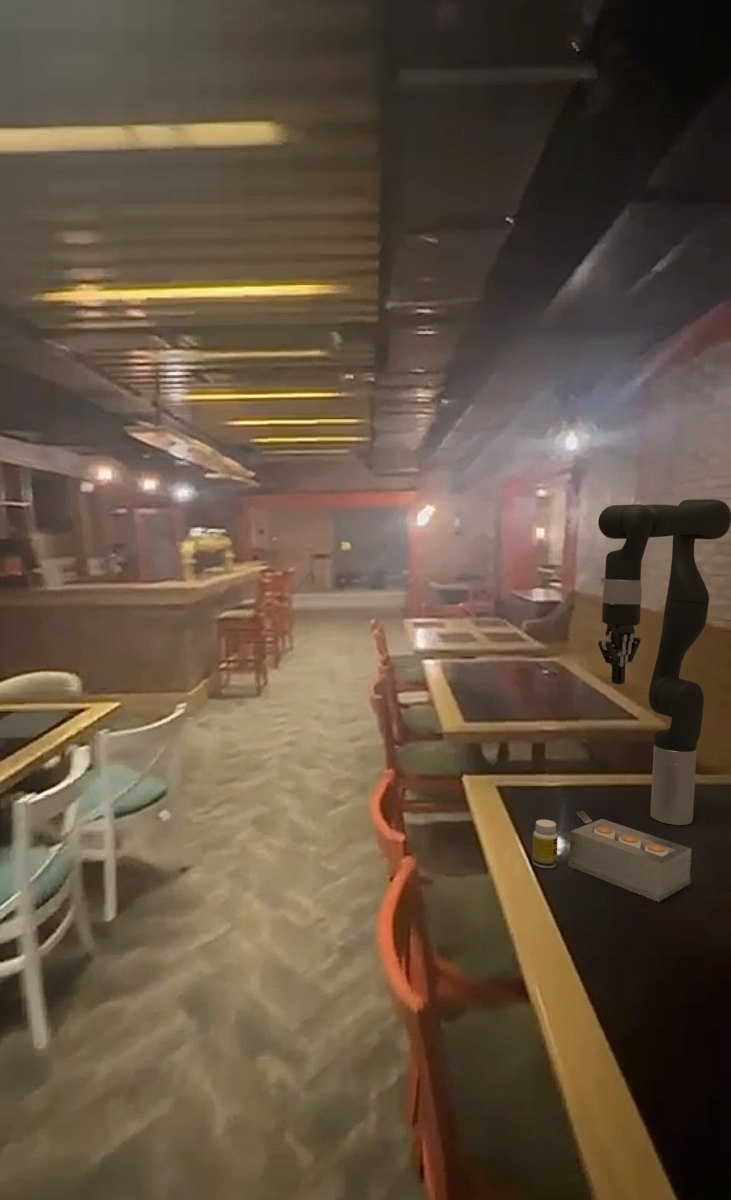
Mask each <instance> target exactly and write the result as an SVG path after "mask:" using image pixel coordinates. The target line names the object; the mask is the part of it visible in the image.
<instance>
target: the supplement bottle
mask: <svg viewBox="0 0 731 1200" xmlns="http://www.w3.org/2000/svg"><path fill="white" fill-rule="evenodd" d="M558 835H559V834H557V823H556V822H555V821H553V820H549V819H538V820H536V822H535V830H534V831H533V835H532V836H533V837H532V859H531V860H532V864H533V865H534V866H535V867H537V868H541V869H553V868H555V867H556V866H557V863H558V862H557V860H558Z"/></svg>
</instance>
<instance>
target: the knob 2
mask: <svg viewBox="0 0 731 1200" xmlns="http://www.w3.org/2000/svg"><path fill="white" fill-rule="evenodd" d="M619 842H622V843H625V844H628V845H631V846H633V847H636V848H639V849H640V844H641V841H640V839H638V837H636V836H634V835H629V834H624V835H621V836H620V837H619Z"/></svg>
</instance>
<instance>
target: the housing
mask: <svg viewBox="0 0 731 1200" xmlns="http://www.w3.org/2000/svg"><path fill="white" fill-rule="evenodd" d="M597 826H607V827H610V828H612V829H613V830H614V831H615V840H614V839H611V838H608V837H605V836H602V835H599V834H596V833H594V828H596V827H597ZM624 834H629V835H634V836H636V837H638V839H640V841H641V844H640V849H639V848H636V847H633V846H631V845H628V844H625V843H622V842H619V837H620V836H621V835H624ZM651 843H655V844H660V845H663V846H664V847H665V848H666V849H667V850H668V854H667V855H665V856H663V857H662V856H659V855H656V854H653V853H650V852H648V851H645V846H646V845H648V844H651ZM569 847H570V848H569V849H570V850H569V860H568V862H567V863H568V864H567V866H568V867H570V868H573V869H574V870H577V871H580V872H582V873H585V874H587V875H589V876H592V877H595V878H596V879H599V880H602V881H604V882H607V883H610V884H612V885H614V886H616V887H620V888H622V889H624V890H626V891H629V892H632V893H634V894H636V893H637V895H639V896H641V895H642V896H641V897H644V896H645V897H644V898H646V897H647V899H650V900H651V899H652V901H654V902H656V901H657V902H656V903H660V902H662V901H663V900H666V899H667V898H668V896H669V897H670V896H672V895H674V894H675V893H677V892H679V891H681V890H682V889H684V888H686V887H688V886H689V885H691V883H692V878H691V861H692V860H691V859H692V848H691V847H688V846H685V845H682V844H679V843H677V842H673V841H670V840H667V839H664V838H661V837H657V836H655V835H652V834H649V833H646V832H642V831H640V830H637V829H634V828H631V827H628V826H625V825H621V824H619V823H616V822H613V821H610V820H608V819H603V818H600V819H598V820H595V821H592V822H589V823H587V824H586V825H582V826H580V827H578V828H576V829H573V830H571V831H570V846H569Z"/></svg>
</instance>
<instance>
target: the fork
mask: <svg viewBox="0 0 731 1200" xmlns="http://www.w3.org/2000/svg"><path fill="white" fill-rule="evenodd" d="M575 813H576V814H577V816H578V817H579V818H580V819H581V820H582V821H583V822H584V823H585V824H590V823H592V822H593V819H591V818H590V817H589V816H588V815H587V814H586V813H585V812H584V811H583V810H581V811H578V812H575Z"/></svg>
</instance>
